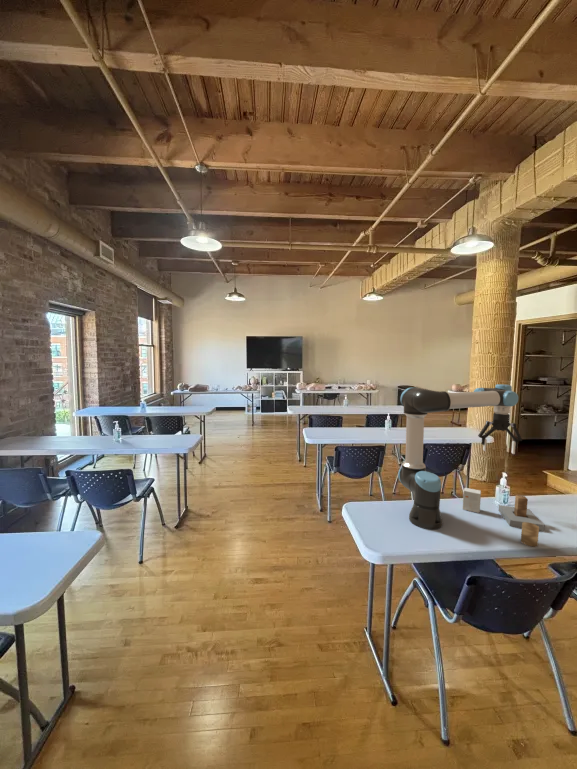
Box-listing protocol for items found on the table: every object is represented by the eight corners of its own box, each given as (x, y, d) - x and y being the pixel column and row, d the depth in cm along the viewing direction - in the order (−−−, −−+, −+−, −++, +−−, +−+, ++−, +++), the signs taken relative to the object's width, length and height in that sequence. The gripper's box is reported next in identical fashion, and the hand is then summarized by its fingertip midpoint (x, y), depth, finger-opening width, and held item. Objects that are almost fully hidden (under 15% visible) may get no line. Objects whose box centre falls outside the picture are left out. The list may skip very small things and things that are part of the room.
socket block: (509, 526, 163) (510, 520, 163) (498, 510, 180) (498, 505, 180) (543, 531, 159) (544, 525, 159) (528, 514, 176) (529, 509, 176)
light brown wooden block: (522, 544, 146) (524, 526, 146) (519, 538, 152) (520, 521, 151) (539, 548, 144) (541, 529, 144) (535, 541, 150) (536, 523, 149)
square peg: (516, 521, 168) (518, 498, 167) (513, 517, 172) (515, 495, 171) (525, 522, 167) (527, 499, 166) (522, 519, 171) (524, 496, 170)
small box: (479, 509, 181) (481, 490, 180) (479, 513, 176) (480, 493, 175) (463, 505, 185) (464, 487, 184) (462, 509, 180) (463, 490, 179)
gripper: (477, 412, 181) (474, 451, 182) (531, 416, 173) (528, 456, 175) (474, 410, 188) (471, 447, 189) (525, 413, 180) (522, 452, 182)
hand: (498, 452), depth 182 cm, fingers open, 13 cm apart
